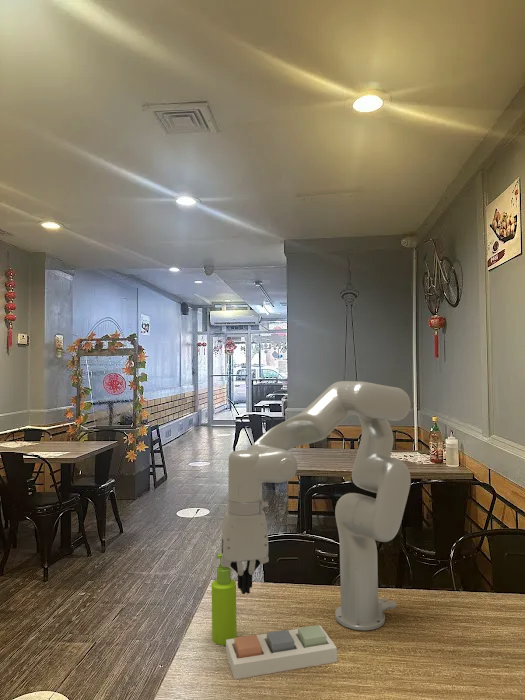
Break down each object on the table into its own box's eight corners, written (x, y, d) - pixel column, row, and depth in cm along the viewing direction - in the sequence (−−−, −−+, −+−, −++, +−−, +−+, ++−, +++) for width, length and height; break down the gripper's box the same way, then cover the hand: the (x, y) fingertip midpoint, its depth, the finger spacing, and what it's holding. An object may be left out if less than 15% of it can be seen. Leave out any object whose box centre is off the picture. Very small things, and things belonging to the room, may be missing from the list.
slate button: (287, 638, 114) (287, 629, 114) (294, 650, 109) (294, 641, 110) (266, 641, 113) (266, 632, 113) (272, 653, 108) (272, 644, 108)
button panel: (320, 638, 119) (320, 625, 119) (337, 661, 109) (336, 647, 109) (226, 653, 113) (225, 639, 113) (234, 679, 103) (234, 664, 104)
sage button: (318, 633, 116) (318, 625, 116) (326, 645, 111) (326, 636, 111) (298, 636, 115) (297, 628, 115) (305, 648, 110) (305, 639, 110)
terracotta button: (256, 643, 112) (256, 634, 113) (261, 655, 108) (261, 646, 108) (234, 646, 111) (234, 637, 111) (238, 659, 106) (238, 649, 106)
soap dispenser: (237, 646, 116) (236, 559, 116) (209, 644, 117) (208, 557, 118) (243, 633, 121) (242, 550, 122) (216, 631, 123) (215, 549, 124)
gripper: (273, 500, 116) (272, 581, 115) (209, 504, 112) (208, 587, 111) (282, 509, 109) (282, 595, 108) (214, 513, 105) (213, 602, 104)
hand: (244, 591), depth 110 cm, fingers closed
